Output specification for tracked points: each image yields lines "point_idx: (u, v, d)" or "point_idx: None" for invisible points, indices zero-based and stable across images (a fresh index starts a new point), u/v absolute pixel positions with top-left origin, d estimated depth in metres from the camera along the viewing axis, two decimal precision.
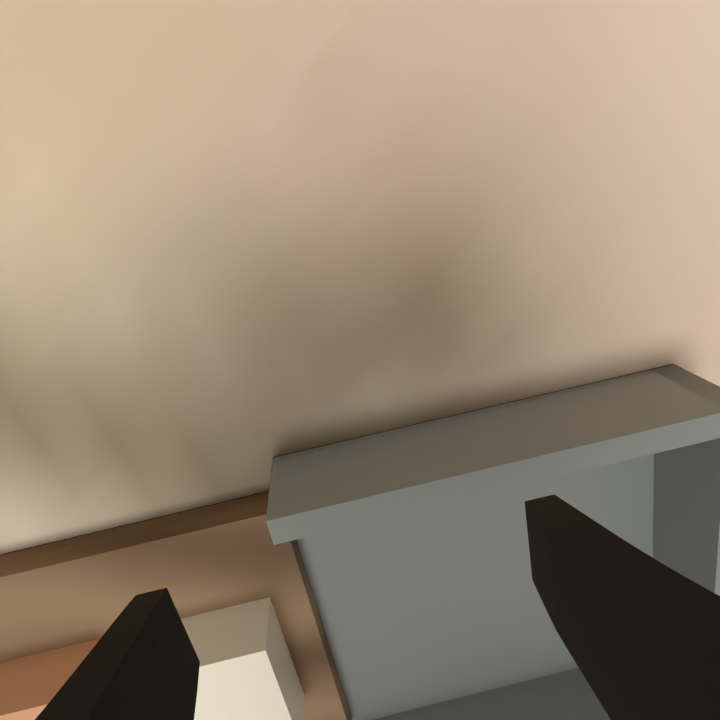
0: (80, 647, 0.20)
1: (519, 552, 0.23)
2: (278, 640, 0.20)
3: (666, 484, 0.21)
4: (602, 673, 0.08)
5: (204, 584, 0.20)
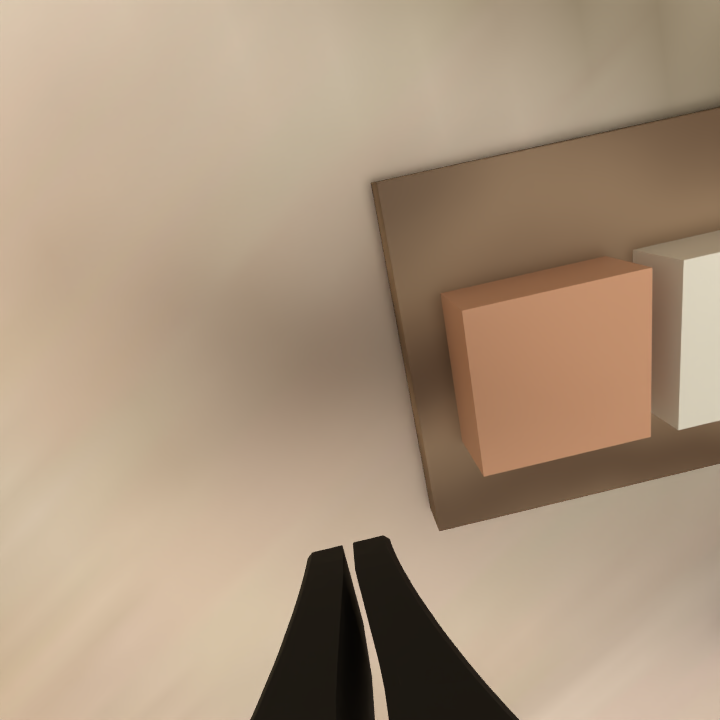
0: (586, 262, 0.17)
1: None
2: None
3: None
4: None
5: None
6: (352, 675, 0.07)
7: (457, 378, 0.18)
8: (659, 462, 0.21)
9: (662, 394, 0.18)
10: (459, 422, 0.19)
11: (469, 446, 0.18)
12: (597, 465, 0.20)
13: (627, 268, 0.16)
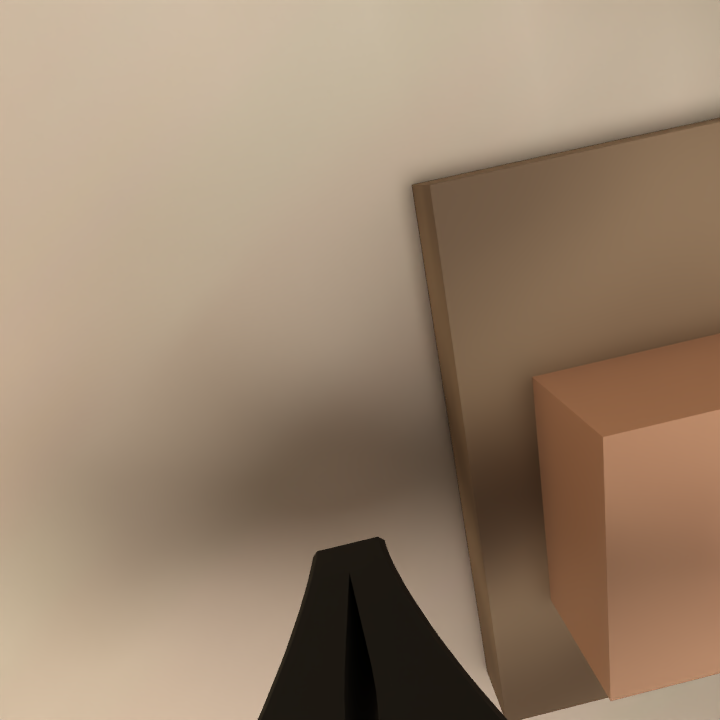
0: None
1: None
2: None
3: None
4: None
5: None
6: (359, 673, 0.07)
7: (558, 519, 0.10)
8: None
9: None
10: (549, 574, 0.12)
11: (572, 625, 0.11)
12: None
13: None
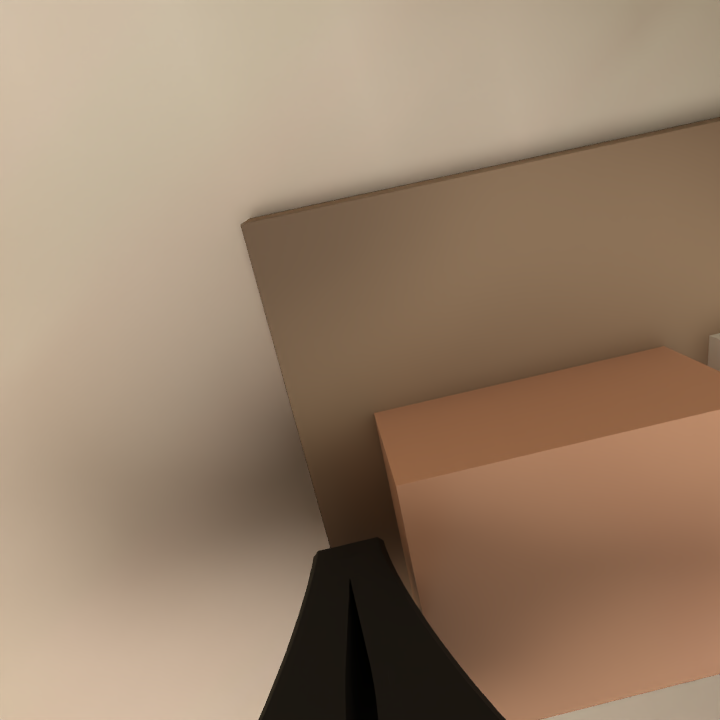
0: (631, 358, 0.10)
1: None
2: None
3: None
4: None
5: None
6: (360, 673, 0.07)
7: (405, 556, 0.10)
8: None
9: None
10: None
11: None
12: None
13: (719, 391, 0.08)
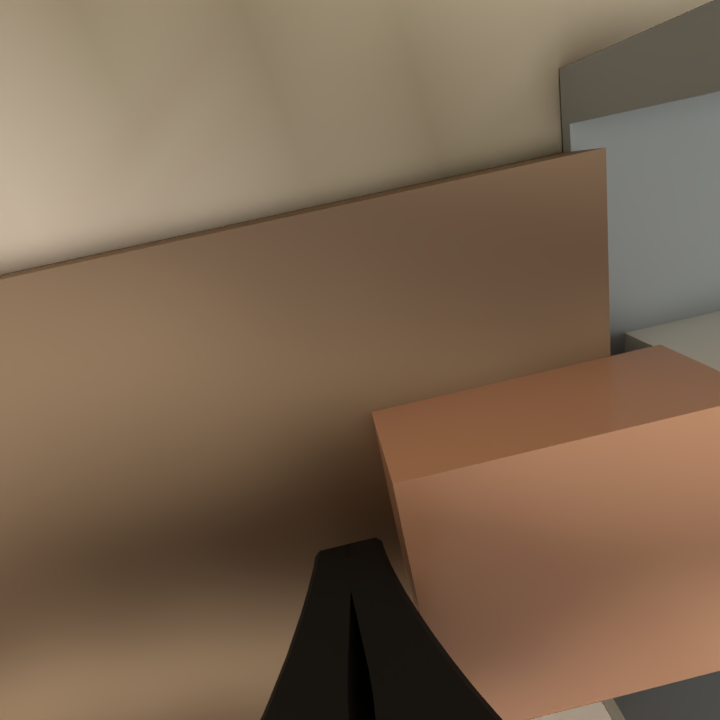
0: (628, 357, 0.10)
1: None
2: None
3: None
4: None
5: (415, 335, 0.09)
6: (361, 673, 0.07)
7: (403, 554, 0.10)
8: None
9: None
10: None
11: None
12: None
13: (715, 389, 0.08)
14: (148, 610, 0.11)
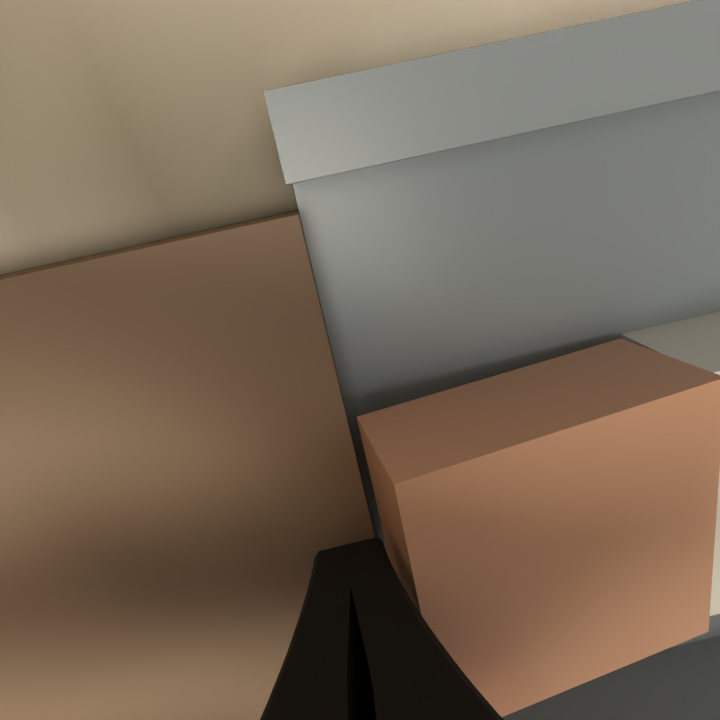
0: (593, 351, 0.10)
1: None
2: None
3: None
4: None
5: (131, 400, 0.09)
6: (361, 673, 0.07)
7: (393, 557, 0.10)
8: None
9: None
10: None
11: None
12: None
13: (677, 375, 0.09)
14: None
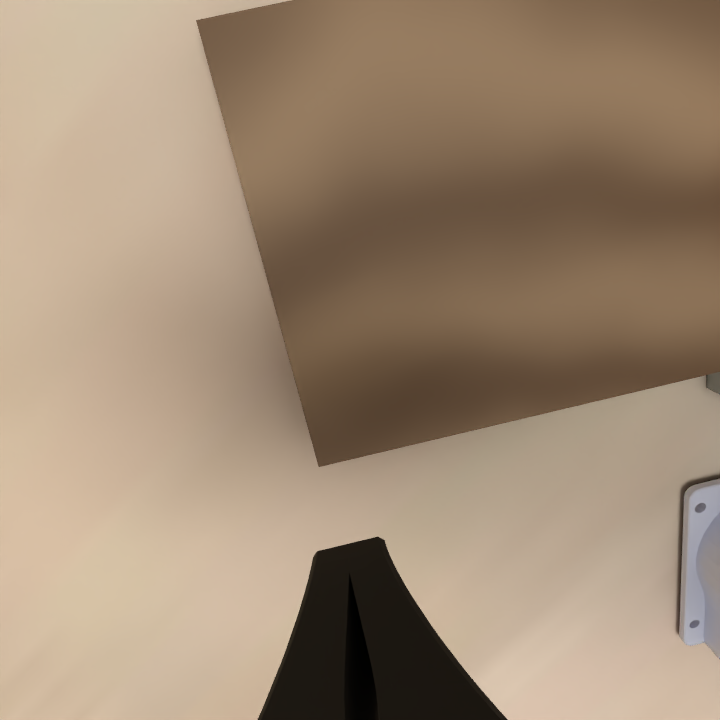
0: None
1: None
2: None
3: None
4: None
5: (640, 37, 0.14)
6: (359, 673, 0.07)
7: None
8: (573, 387, 0.18)
9: None
10: None
11: None
12: (499, 389, 0.18)
13: None
14: (435, 255, 0.16)
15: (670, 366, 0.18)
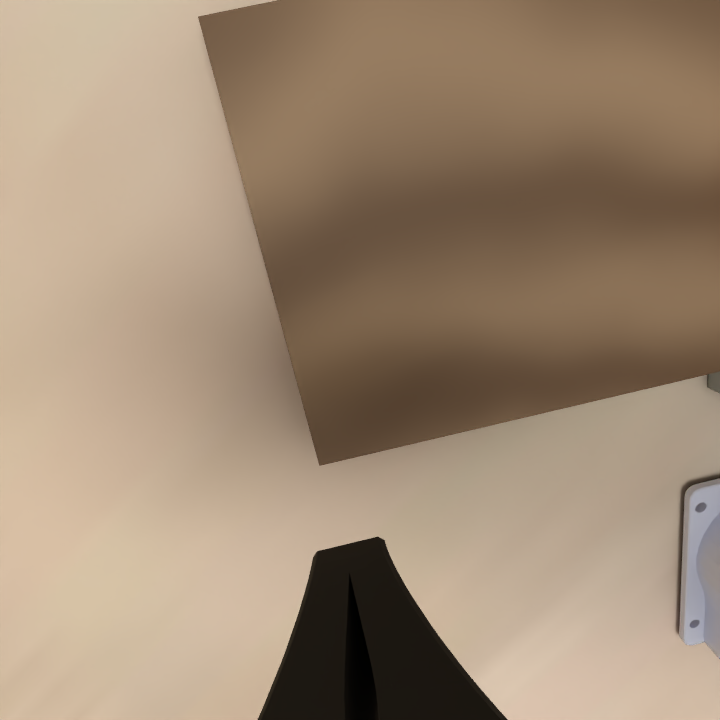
0: None
1: None
2: None
3: None
4: None
5: (642, 35, 0.14)
6: (359, 673, 0.07)
7: None
8: (574, 386, 0.18)
9: None
10: None
11: None
12: (501, 388, 0.18)
13: None
14: (437, 253, 0.16)
15: (671, 365, 0.18)
